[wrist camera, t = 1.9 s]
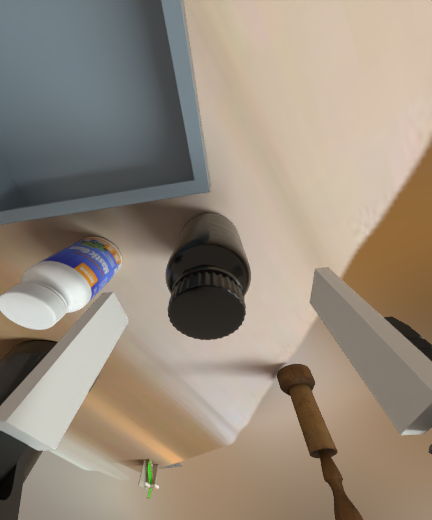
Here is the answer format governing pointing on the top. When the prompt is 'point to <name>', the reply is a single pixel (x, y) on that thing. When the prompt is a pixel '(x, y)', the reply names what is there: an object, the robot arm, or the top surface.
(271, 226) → the top surface
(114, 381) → the top surface
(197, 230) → the supplement bottle
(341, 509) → the turned wooden pestle
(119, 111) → the tray
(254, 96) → the top surface
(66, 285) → the pill bottle
